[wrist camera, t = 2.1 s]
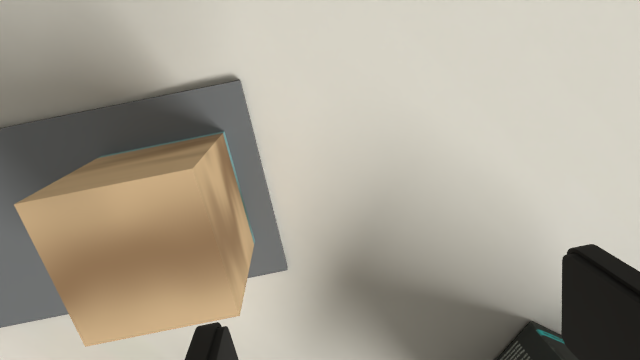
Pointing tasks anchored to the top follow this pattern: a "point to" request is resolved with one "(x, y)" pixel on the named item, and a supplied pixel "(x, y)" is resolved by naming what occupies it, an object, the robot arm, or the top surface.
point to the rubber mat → (108, 138)
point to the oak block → (145, 239)
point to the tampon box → (537, 345)
